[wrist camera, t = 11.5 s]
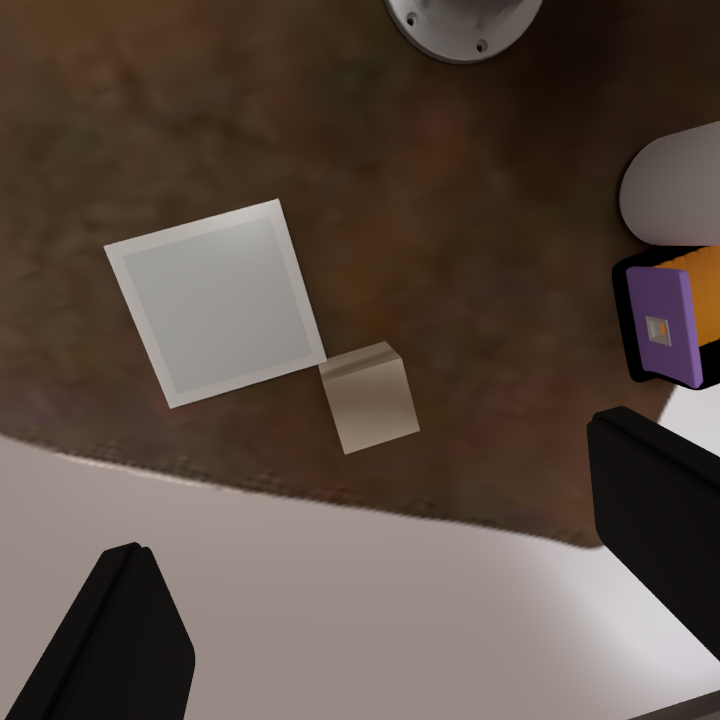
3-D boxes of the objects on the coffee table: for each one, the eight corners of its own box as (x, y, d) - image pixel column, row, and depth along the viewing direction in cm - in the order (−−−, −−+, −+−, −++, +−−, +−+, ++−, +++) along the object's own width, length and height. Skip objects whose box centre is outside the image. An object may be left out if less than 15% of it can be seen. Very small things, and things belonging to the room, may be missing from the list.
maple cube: (401, 357, 34) (385, 341, 40) (322, 382, 34) (317, 361, 39) (420, 430, 36) (401, 404, 42) (345, 454, 35) (336, 424, 41)
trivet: (109, 246, 35) (102, 246, 34) (278, 200, 36) (278, 198, 35) (173, 403, 38) (169, 409, 37) (326, 357, 39) (327, 361, 38)
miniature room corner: (629, 385, 45) (688, 409, 38) (606, 264, 41) (667, 268, 35) (741, 341, 45) (817, 357, 39) (727, 219, 42) (809, 214, 36)
